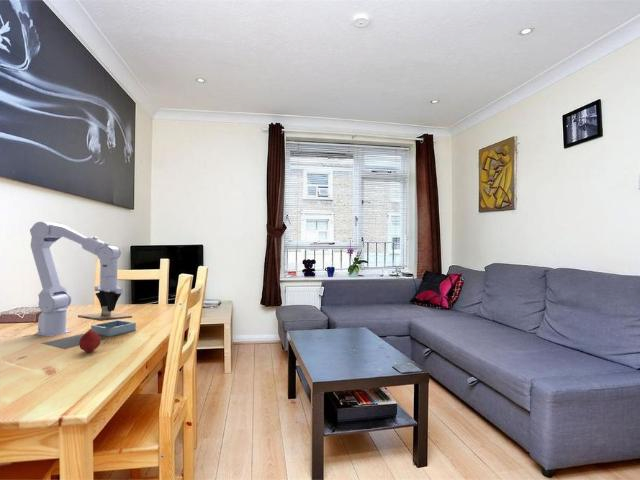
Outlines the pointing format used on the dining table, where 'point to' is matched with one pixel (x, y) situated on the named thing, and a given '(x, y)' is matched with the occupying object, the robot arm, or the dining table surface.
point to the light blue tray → (114, 328)
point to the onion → (89, 341)
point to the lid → (104, 315)
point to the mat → (66, 342)
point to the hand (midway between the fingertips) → (108, 310)
